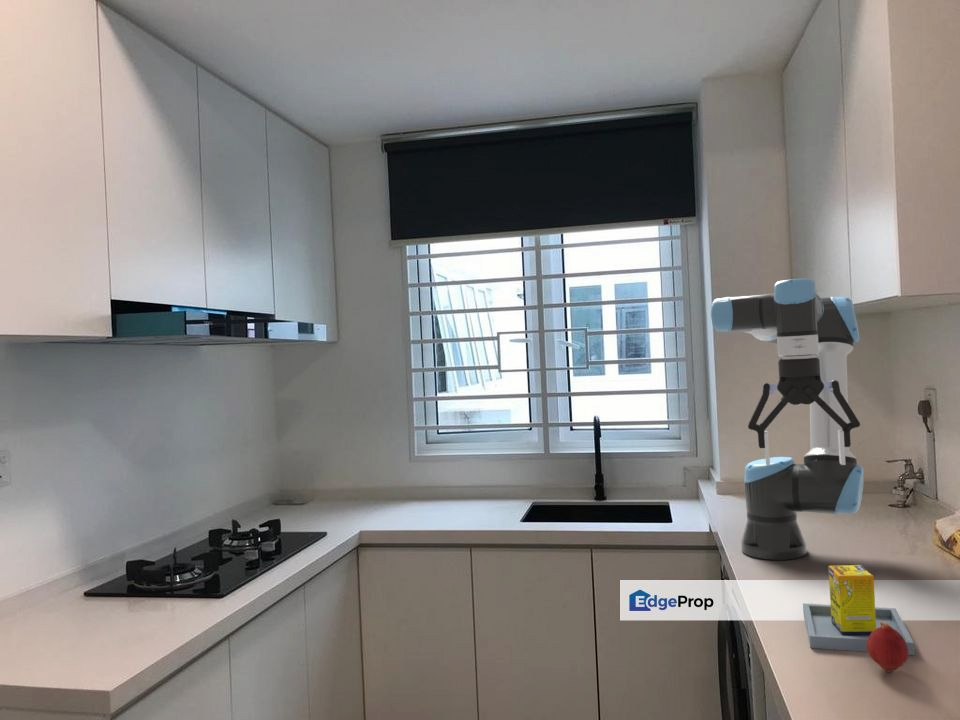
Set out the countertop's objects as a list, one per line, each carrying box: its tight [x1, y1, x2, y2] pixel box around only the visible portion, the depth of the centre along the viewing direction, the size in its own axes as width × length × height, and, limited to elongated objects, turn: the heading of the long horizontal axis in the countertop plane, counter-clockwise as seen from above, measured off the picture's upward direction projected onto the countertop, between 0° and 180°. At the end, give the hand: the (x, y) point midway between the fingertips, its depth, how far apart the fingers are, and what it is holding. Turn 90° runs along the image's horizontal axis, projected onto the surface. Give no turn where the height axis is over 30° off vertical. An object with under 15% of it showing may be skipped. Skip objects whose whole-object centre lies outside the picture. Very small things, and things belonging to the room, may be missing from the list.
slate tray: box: [802, 603, 916, 656], centre depth 133 cm, size 16×16×2 cm
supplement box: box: [827, 564, 876, 636], centre depth 133 cm, size 6×6×11 cm
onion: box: [866, 622, 909, 673], centre depth 118 cm, size 6×6×8 cm
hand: (804, 464), depth 146 cm, fingers open, 13 cm apart
